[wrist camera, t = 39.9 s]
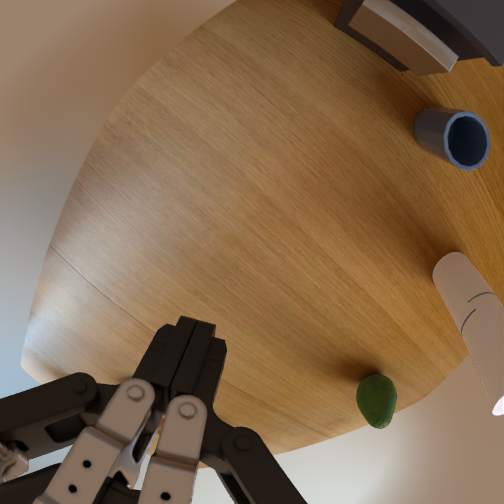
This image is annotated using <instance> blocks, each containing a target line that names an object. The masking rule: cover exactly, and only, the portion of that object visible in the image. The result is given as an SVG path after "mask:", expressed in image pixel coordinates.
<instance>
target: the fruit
mask: <svg viewBox="0 0 504 504" xmlns="http://www.w3.org/2000/svg"><path fill="white" fill-rule="evenodd" d="M356 399H357V404H358V407H359V409H360V411H361V413H362V414H363V416H364V417H365V419H366V420H367V421H368V423H369V424H370V425H371V426H373V427H374V428H379V429H382V428H385V427H386V426H387V425H388V424H389V423H390V422H391V419H392V416H393V413H394V410H395V405H396V400H397V392H396V388H395V386H394V384H393V383H392V381H391V380H390V379H389V378H387V377H386V376H383V375H378V374H374V375H370V376H368V377H366V378H364V379H363V380H362V381H361V382H360V384H359V386H358V389H357V395H356Z"/></svg>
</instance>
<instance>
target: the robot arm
mask: <svg viewBox="0 0 504 504" xmlns="http://www.w3.org/2000/svg"><path fill="white" fill-rule="evenodd" d="M215 330H216V325H215V324H211V323H208V322H204V321H200V320H199V321H198V320H196V319H193V318H189V317H186V316H181V317H180V318H179V320H178V322H177V324H176V326H173V325H170V324H165V325H164V326H163V327H161V328H160V329H159V330H158V331H157V332H156V334H155V336H154V338H153V340H152V341H151V343H150V345H149V347H148V349H147V351H146V352H145V354H144V356H143V358H142V360H141V362H140V364H139V365H138V367H137V369H136V371H135V373H134V375H133V376H132V377H131V379H128V380H126V381H124V382H123V383H122V384H119V385H109V384H99V383H96V381H95V379H94V378H93V377H92V376H90V375H89V374H86V373H82V372H78V373H74V374H71V375H68V376H65V377H63V378H60V379H57V380H54V381H52V382H49V383H46V384H43V385H40V386H38V387H34V388H32V389H29V390H26V391H23V392H20V393H17V394H14V395H11V396H8V397H5V398H2V399H0V504H191V502H192V497H193V491H194V486H195V480H196V475H197V470H198V464H199V460H200V461H201V462H203V463H204V464H206V465H208V466H209V467H211V468H213V469H214V470H215V471H216V473H217V475H218V476H219V478H220V480H221V482H222V483H223V485H224V487H225V488H226V490H227V491H228V493H229V495H230V497H231V498H232V500H233V501H234V503H235V504H307V502H306V501H305V500H304V499H303V497H302V496H301V494H300V493H299V492H298V490H297V489H296V488H295V486H294V485H293V484H292V482H291V481H290V479H289V478H288V477H287V475H286V474H285V473H284V471H283V470H282V468H281V467H280V466H279V464H278V463H277V461H276V460H275V458H274V457H273V455H272V454H271V452H270V451H269V449H268V448H267V446H266V445H265V443H264V442H263V440H262V439H261V437H260V436H259V435H258V434H257V433H256V432H255V431H253V430H252V429H249V428H246V427H235V428H234V427H232V426H230V425H229V424H227V423H225V422H224V421H222V420H221V419H219V418H218V417H217V415H216V414H215V412H214V410H213V403H214V400H215V396H216V393H217V389H218V386H219V382H220V379H221V376H222V372H223V368H224V363H225V358H226V353H227V348H226V343H225V340H223V339H219V338H216V337H215ZM163 415H165V419H164V422H163V426H162V429H161V433H160V436H159V440H158V443H157V447H156V450H155V452H154V454H152V456H151V458H150V461H149V464H148V467H147V472H146V475H145V479H144V482H143V486H142V490H134V489H133V488H134V486H135V483H136V481H137V479H138V477H139V473H140V467H141V464H142V462H143V460H144V458H145V456H146V454H147V452H148V450H149V448H150V446H151V444H152V442H153V440H154V438H155V436H156V434H157V432H158V430H159V424H160V422H161V419H162V417H163ZM70 445H73V446H72V447H71V449H70V451H69V452H68V454H67V455H66V457H65V459H64V460H63V462H62V463H57V464H54V465H51V466H48V467H46V468H43V469H40V470H38V471H35V472H33V473H30V474H27V475H24V476H21V477H18V476H19V475H21V474H23V473H24V472H27V471H28V468H29V466H28V465H29V460H30V459H33V458H36V457H39V456H42V455H45V454H48V453H51V452H54V451H56V450H59V449H62V448H65V447H67V446H70ZM17 477H18V478H17Z"/></svg>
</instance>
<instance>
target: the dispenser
mask: <svg viewBox="0 0 504 504" xmlns="http://www.w3.org/2000/svg"><path fill="white" fill-rule="evenodd" d="M390 1H391V2H393V3H394V4H396V5H397V6H399V7H400V8H401V9H403V10H404V11H406V12H407V13H408V14H410V15H411V16H412V17H414V18H415V19H416V20H417V21H419V22H420V23H421V24H422V25H424V26H425V27H426V28H427V29H429V30H430V31H431V32H432V33H433V34H434V35H436V36H437V37H438V38H439V39H440V40H441V41H442V42H444V43H445V44H446V45H447V46H448V47H449V48H450V49H451V50H452V51H453V52H454V53H455V54H456V55H458V59H457V61H460V60H467V59H475V58H483V57H484V58H485V59H486V60H487V61H488V62H489V63H490V64H491V65H492V66H493V67H494V66H502V65H503V63H504V0H390ZM363 2H364V0H345V2H344V4H343V6H342V8H341V10H340V13H339V15H338V17H337V19H336V21H335V23H334V25H333V26H335V27H336V28H338V29H340V30H341V31H343V32H345V33H346V34H348V35H349V36H351V37H353V38H354V39H356V40H357V41H359V42H360V43H362V44H363V45H365V46H366V47H368V48H369V49H371V50H372V51H373V52H375V53H376V54H378V55H379V56H380V57H382V58H383V59H385V60H386V61H387V62H389V63H390V64H391V65H393V66H394V67H395V68H396V69H398V70H399V71H400V72H403V71H407V70H410V69H409V68H408V67H406V66H405V65H404V64H403V63H401V62H400V61H399V60H398V59H396V58H395V57H394V56H392V55H391V54H390V53H388V52H387V51H386V50H384V49H383V48H381V47H380V46H379V45H377V44H376V43H374V42H373V41H372V40H370V39H369V38H367V37H366V36H364V35H363V34H361V33H360V32H358V31H356V30H355V29H353V28H352V27H350V26H349V25H348V24H349V23H350V21H351V20H352V18H353V17H354V15H355V14H356V12H357V11H358V9H359V8H360V6H361V5H362V3H363Z"/></svg>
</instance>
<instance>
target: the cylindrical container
mask: <svg viewBox="0 0 504 504" xmlns="http://www.w3.org/2000/svg"><path fill="white" fill-rule="evenodd" d="M432 278H433V282H434V285H435V286H436V288H437V290H438V292H439V293H440V295H441V297H442V299H443V301H444V303H445V305H446V306H447V308H448V310H449V312H450V314H451V316H452V318H453V320H454V322H455V324H456V326H457V328H458V330H459V332H460V334H461V336H462V338H463V340H464V343H465V345H466V347H467V349H468V351H469V354H470V356H471V358H472V360H473V363H474V365H475V368H476V370H477V372H478V375H479V377H480V380H481V382H482V385H483V387H484V390H485V393H486V395H487V398H488V401H489V404H490V407H491V409H492V412H493V414H494V415H502V414H504V306H503V305H502V303H501V302H500V301H499V299H498V298H497V296H496V295H495V293H494V292H493V291H492V289H491V288H490V287H489V285H488V284H487V282H486V281H485V280H484V278H483V277H482V276H481V275H480V273H479V272H478V271H477V269H476V268H475V267H474V266H473V264H472V263H471V262H470V261H469V259H468V258H467V257H466V256H465V255H464V254H463V253H460V252H451V253H449V254H447V255H445V256H444V257H442V258H441V259H440V260H439V261H438V263H437V264H436V266H435V268H434V270H433V275H432Z"/></svg>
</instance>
